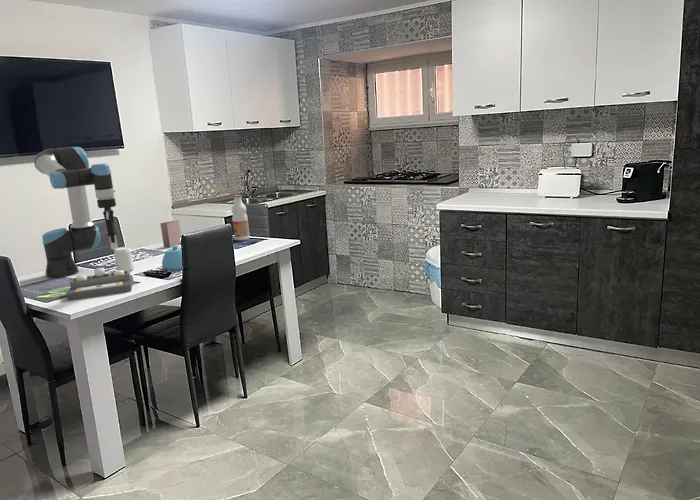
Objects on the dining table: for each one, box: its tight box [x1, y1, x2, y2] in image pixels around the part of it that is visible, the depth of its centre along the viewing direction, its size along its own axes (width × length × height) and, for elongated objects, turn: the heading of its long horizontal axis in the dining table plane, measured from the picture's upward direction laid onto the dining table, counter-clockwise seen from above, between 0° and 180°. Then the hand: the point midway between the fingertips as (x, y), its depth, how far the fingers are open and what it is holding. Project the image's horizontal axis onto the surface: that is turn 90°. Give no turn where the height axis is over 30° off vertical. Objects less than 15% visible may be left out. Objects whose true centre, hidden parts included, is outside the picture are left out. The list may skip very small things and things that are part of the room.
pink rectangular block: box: [160, 219, 182, 249], centre depth 328 cm, size 11×7×15 cm, turn 124°
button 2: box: [113, 270, 124, 276], centre depth 247 cm, size 4×4×3 cm
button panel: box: [65, 270, 134, 301], centre depth 242 cm, size 18×26×6 cm
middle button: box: [93, 267, 107, 277], centre depth 244 cm, size 4×4×3 cm
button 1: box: [75, 274, 88, 281], centre depth 242 cm, size 4×4×3 cm
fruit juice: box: [231, 194, 250, 241], centre depth 332 cm, size 9×9×28 cm
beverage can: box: [113, 246, 135, 272], centre depth 274 cm, size 8×8×12 cm
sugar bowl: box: [161, 245, 183, 272], centre depth 274 cm, size 15×15×12 cm
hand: (114, 248), depth 244 cm, fingers closed
